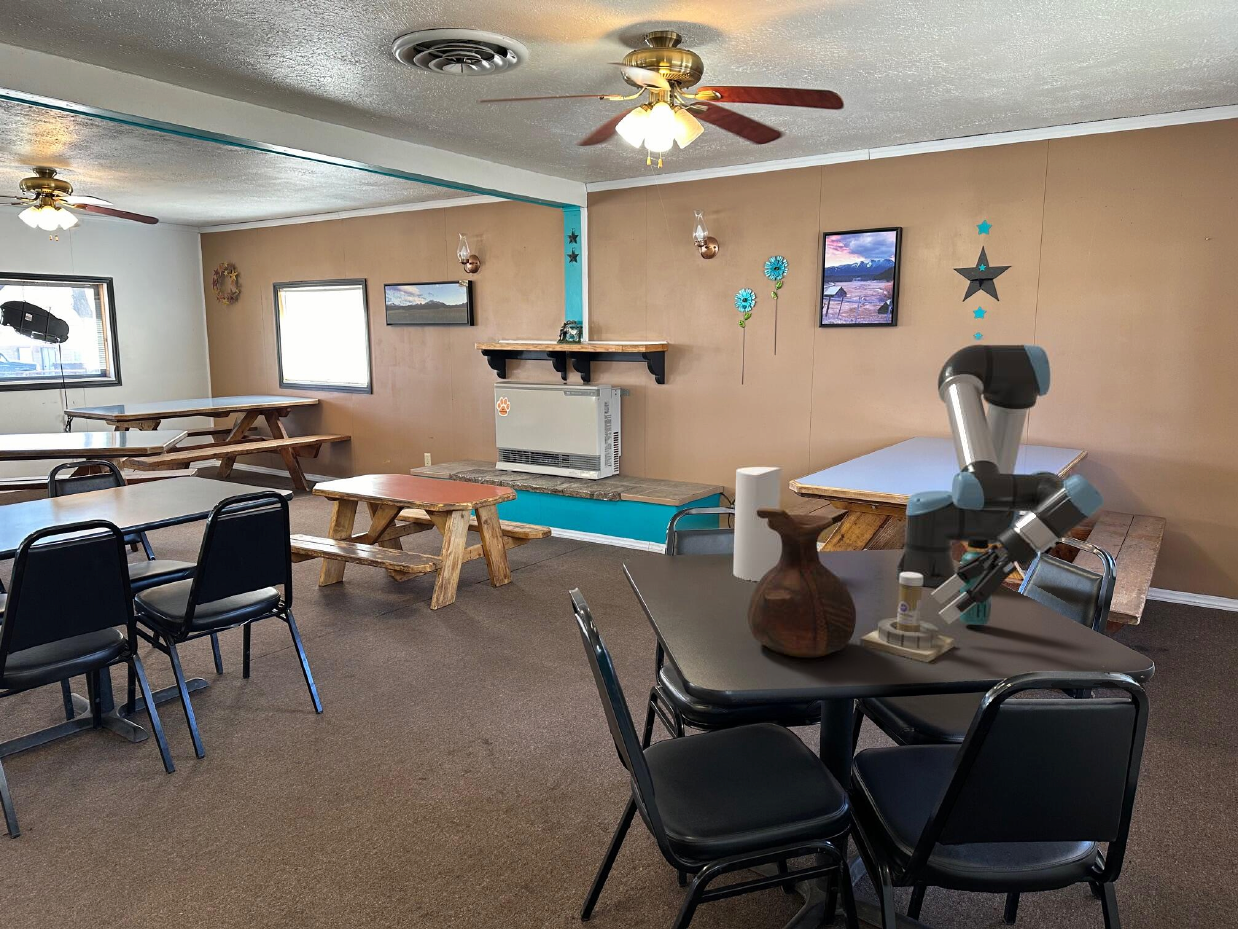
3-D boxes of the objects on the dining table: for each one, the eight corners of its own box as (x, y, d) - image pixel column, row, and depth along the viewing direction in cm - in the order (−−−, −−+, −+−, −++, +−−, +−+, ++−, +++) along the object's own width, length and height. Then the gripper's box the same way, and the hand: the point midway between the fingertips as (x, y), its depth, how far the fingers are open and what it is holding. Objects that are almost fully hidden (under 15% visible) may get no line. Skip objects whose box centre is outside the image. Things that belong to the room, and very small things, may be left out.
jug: (734, 631, 180) (738, 492, 176) (833, 630, 181) (839, 492, 177) (758, 669, 158) (763, 512, 154) (870, 667, 160) (878, 511, 156)
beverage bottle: (975, 633, 180) (981, 541, 177) (950, 624, 186) (955, 535, 183) (996, 629, 183) (1002, 539, 180) (970, 620, 189) (976, 533, 186)
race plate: (888, 630, 181) (889, 612, 181) (953, 646, 172) (955, 627, 171) (859, 645, 172) (860, 626, 171) (926, 662, 162) (928, 642, 162)
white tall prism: (722, 576, 224) (725, 472, 220) (748, 563, 239) (751, 465, 235) (784, 586, 215) (788, 478, 211) (807, 572, 230) (811, 470, 226)
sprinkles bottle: (892, 638, 172) (896, 574, 170) (900, 633, 175) (904, 570, 173) (914, 643, 169) (918, 578, 167) (922, 638, 172) (926, 573, 170)
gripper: (1056, 569, 151) (961, 642, 157) (1026, 540, 175) (945, 604, 181) (1025, 538, 152) (933, 613, 158) (1000, 513, 176) (920, 578, 182)
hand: (939, 608), depth 169 cm, fingers open, 13 cm apart
